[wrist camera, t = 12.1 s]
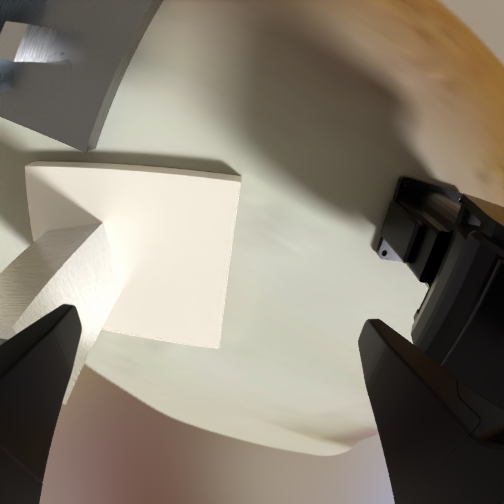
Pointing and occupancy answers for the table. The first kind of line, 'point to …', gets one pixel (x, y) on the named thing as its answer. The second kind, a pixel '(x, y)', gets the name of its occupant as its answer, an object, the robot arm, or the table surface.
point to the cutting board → (149, 239)
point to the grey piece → (67, 62)
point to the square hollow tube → (61, 285)
